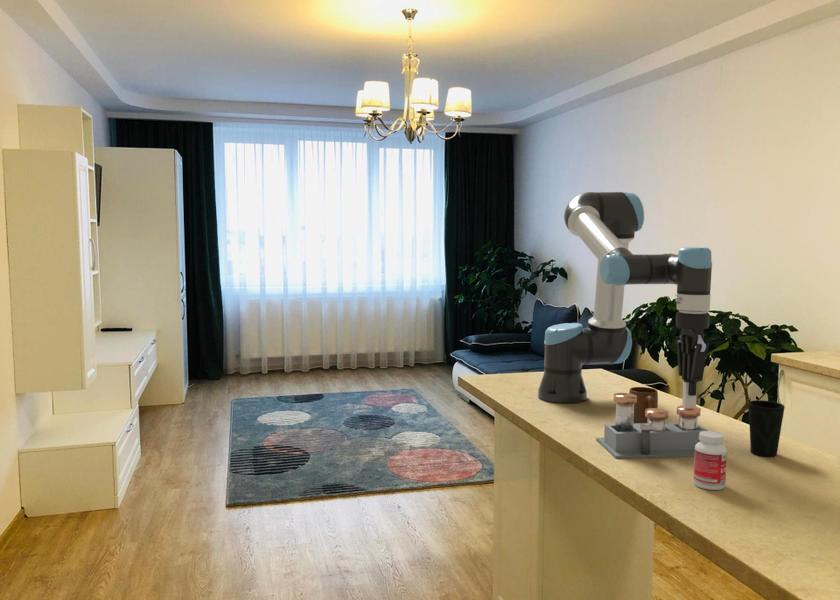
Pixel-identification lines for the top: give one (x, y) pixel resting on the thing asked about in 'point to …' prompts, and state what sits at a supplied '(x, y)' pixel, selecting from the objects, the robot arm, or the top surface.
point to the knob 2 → (688, 417)
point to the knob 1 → (624, 411)
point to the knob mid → (656, 418)
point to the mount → (651, 441)
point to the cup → (765, 427)
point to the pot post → (645, 438)
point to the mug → (643, 402)
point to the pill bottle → (710, 461)
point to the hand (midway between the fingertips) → (689, 407)
